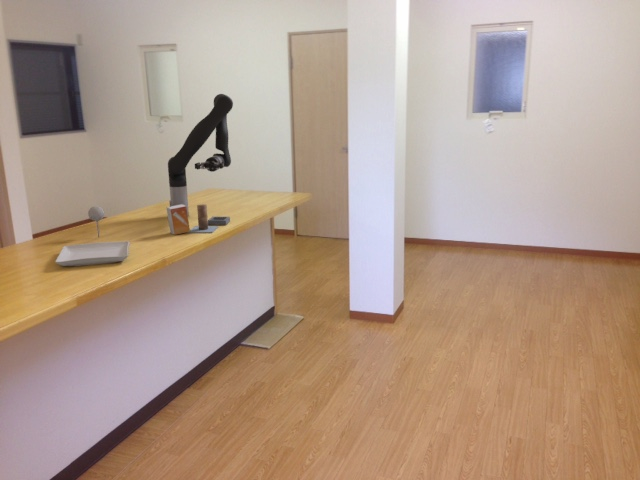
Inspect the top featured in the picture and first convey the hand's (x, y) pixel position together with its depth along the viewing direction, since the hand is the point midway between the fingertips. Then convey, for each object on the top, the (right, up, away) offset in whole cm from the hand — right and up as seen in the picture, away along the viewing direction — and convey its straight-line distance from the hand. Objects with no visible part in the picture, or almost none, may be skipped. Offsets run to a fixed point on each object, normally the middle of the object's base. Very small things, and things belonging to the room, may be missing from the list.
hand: (205, 167), depth 283 cm
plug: (0, -31, -3) cm, 31 cm away
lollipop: (-48, -35, -14) cm, 62 cm away
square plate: (-36, -45, -49) cm, 75 cm away
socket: (+5, -28, +12) cm, 31 cm away
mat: (0, -32, -3) cm, 32 cm away
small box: (-11, -33, -8) cm, 36 cm away
